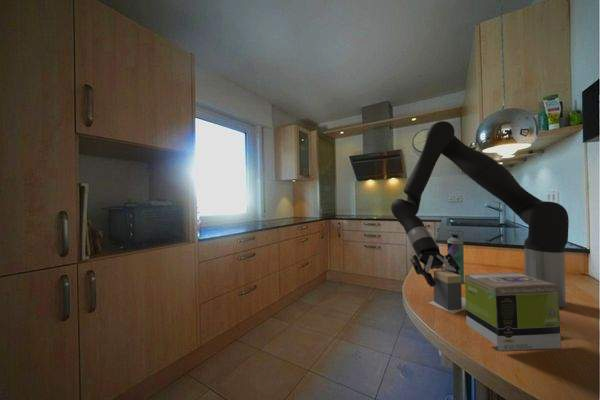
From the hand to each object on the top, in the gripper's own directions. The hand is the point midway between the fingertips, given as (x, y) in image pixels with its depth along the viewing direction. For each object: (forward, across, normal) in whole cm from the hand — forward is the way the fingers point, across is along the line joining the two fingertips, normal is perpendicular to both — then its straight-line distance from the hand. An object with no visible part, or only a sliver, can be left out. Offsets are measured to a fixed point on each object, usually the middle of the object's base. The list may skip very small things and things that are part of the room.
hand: (446, 285), depth 73 cm
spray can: (-9, +20, +19) cm, 29 cm away
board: (+5, +3, +6) cm, 8 cm away
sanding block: (+5, 0, +4) cm, 6 cm away
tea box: (+17, +4, -6) cm, 18 cm away
